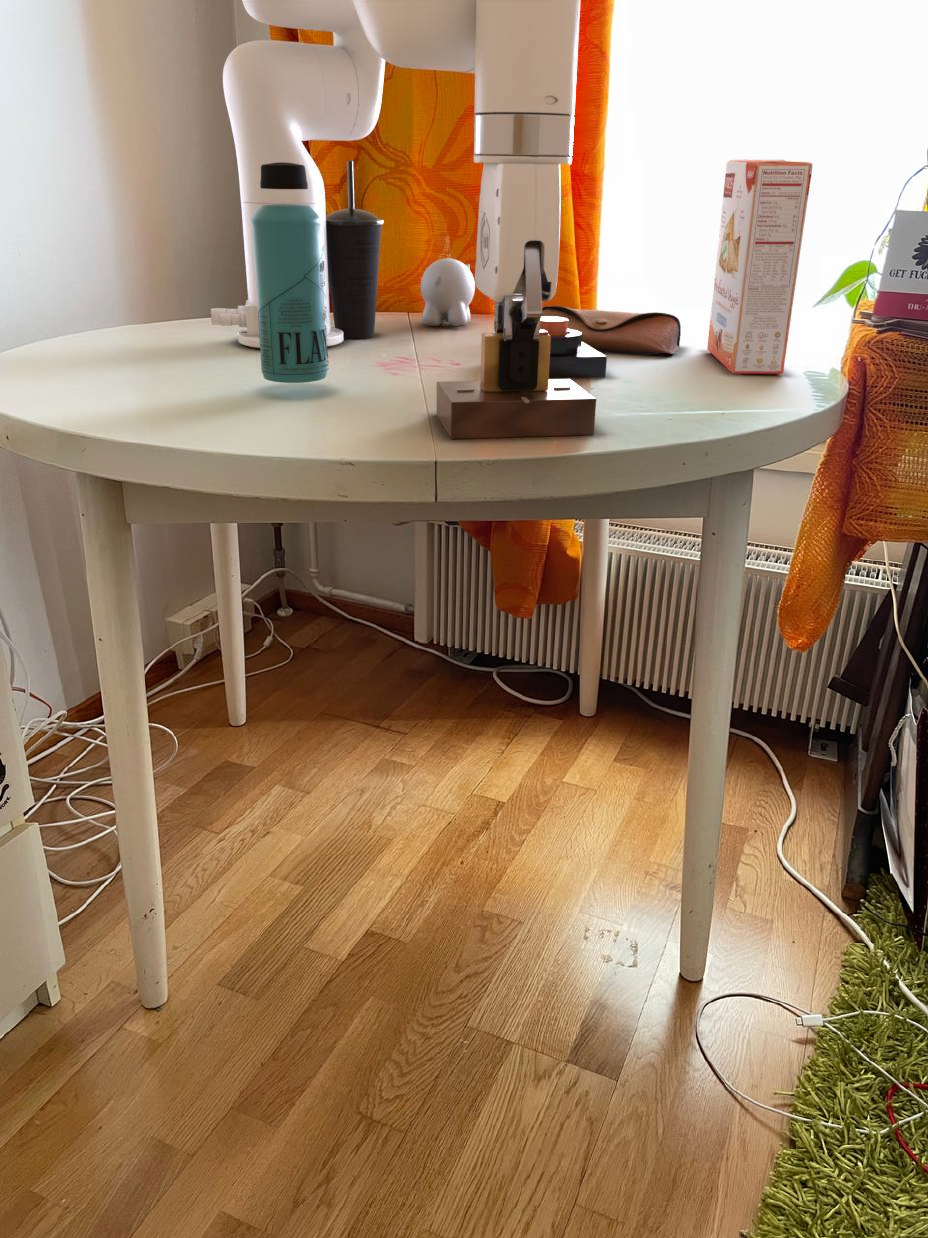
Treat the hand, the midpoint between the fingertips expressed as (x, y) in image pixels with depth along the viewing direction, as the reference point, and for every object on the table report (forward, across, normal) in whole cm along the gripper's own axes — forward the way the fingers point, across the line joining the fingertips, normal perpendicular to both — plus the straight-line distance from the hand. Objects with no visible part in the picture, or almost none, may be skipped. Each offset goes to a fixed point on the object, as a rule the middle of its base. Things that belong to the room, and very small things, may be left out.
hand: (514, 384), depth 83 cm
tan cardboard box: (0, 0, 0) cm, 0 cm away
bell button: (0, -23, +9) cm, 25 cm away
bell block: (+3, -23, +9) cm, 25 cm away
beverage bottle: (+4, -15, -18) cm, 24 cm away
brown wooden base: (+3, 0, 0) cm, 3 cm away
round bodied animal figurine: (+4, -57, +4) cm, 57 cm away
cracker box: (+4, -25, +32) cm, 41 cm away
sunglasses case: (+4, -36, +19) cm, 41 cm away
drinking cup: (+4, -47, -10) cm, 48 cm away
